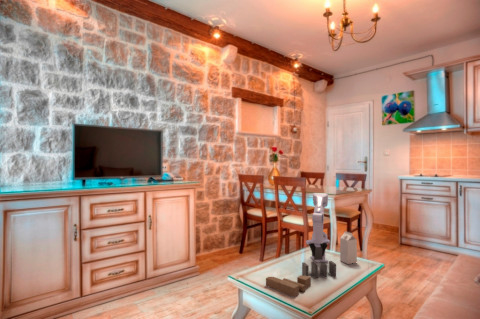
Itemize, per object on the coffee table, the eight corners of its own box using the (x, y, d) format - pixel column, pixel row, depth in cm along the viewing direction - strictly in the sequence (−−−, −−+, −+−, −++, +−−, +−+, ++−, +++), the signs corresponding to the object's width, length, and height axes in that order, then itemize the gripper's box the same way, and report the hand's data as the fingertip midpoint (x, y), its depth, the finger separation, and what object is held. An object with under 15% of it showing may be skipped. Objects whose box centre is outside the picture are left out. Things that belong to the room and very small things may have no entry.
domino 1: (305, 278, 146) (305, 266, 146) (302, 275, 151) (302, 262, 151) (308, 278, 146) (308, 265, 146) (304, 274, 151) (304, 262, 151)
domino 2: (315, 278, 147) (315, 265, 147) (311, 274, 152) (311, 262, 152) (317, 277, 147) (317, 265, 147) (313, 274, 152) (313, 261, 152)
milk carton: (349, 259, 176) (349, 230, 176) (356, 263, 169) (356, 233, 170) (340, 260, 174) (340, 231, 174) (347, 264, 167) (347, 234, 167)
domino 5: (333, 276, 149) (333, 264, 149) (329, 273, 154) (329, 261, 154) (336, 276, 149) (336, 264, 149) (331, 273, 154) (331, 260, 154)
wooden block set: (296, 286, 125) (265, 275, 137) (296, 298, 125) (265, 286, 137) (312, 275, 138) (283, 266, 150) (312, 286, 138) (283, 276, 150)
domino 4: (324, 277, 148) (324, 264, 148) (320, 273, 153) (320, 261, 153) (327, 277, 148) (327, 264, 148) (322, 273, 153) (322, 261, 153)
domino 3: (313, 258, 160) (313, 247, 160) (321, 258, 161) (321, 246, 161) (314, 259, 158) (314, 248, 158) (322, 259, 159) (322, 247, 159)
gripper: (309, 235, 155) (309, 258, 154) (332, 234, 157) (332, 257, 157) (304, 232, 162) (304, 254, 161) (326, 231, 164) (326, 253, 164)
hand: (317, 255), depth 160 cm, fingers closed on domino 3, 5 cm apart
